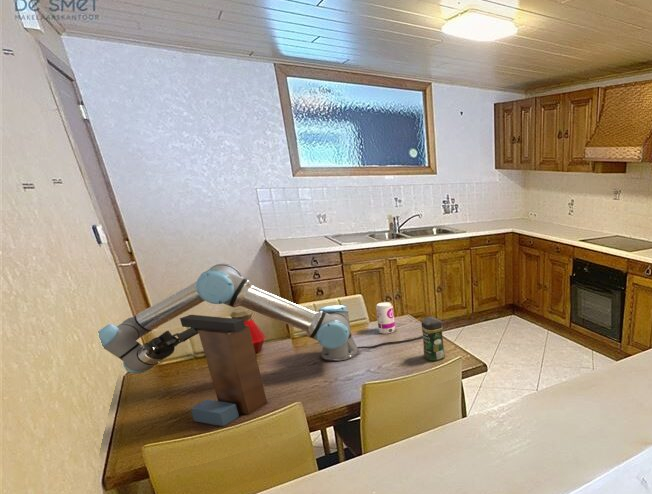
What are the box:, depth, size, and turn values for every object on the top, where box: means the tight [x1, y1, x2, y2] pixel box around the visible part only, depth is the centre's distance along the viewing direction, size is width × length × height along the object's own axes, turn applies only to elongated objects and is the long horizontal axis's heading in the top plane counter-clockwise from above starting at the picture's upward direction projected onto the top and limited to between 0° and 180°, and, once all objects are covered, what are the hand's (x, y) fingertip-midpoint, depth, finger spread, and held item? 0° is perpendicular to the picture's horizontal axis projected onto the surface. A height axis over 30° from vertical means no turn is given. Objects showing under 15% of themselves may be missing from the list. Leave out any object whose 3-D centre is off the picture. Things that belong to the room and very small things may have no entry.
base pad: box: [190, 399, 240, 427], centre depth 144 cm, size 12×6×5 cm, turn 77°
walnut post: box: [198, 325, 268, 415], centre depth 147 cm, size 12×8×30 cm, turn 77°
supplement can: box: [375, 301, 396, 335], centre depth 220 cm, size 8×8×15 cm
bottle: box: [229, 307, 266, 354], centre depth 194 cm, size 16×14×20 cm
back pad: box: [179, 314, 245, 332], centre depth 142 cm, size 21×4×3 cm, turn 78°
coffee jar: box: [421, 316, 445, 362], centre depth 191 cm, size 10×8×19 cm
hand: (190, 327), depth 145 cm, fingers open, 13 cm apart
